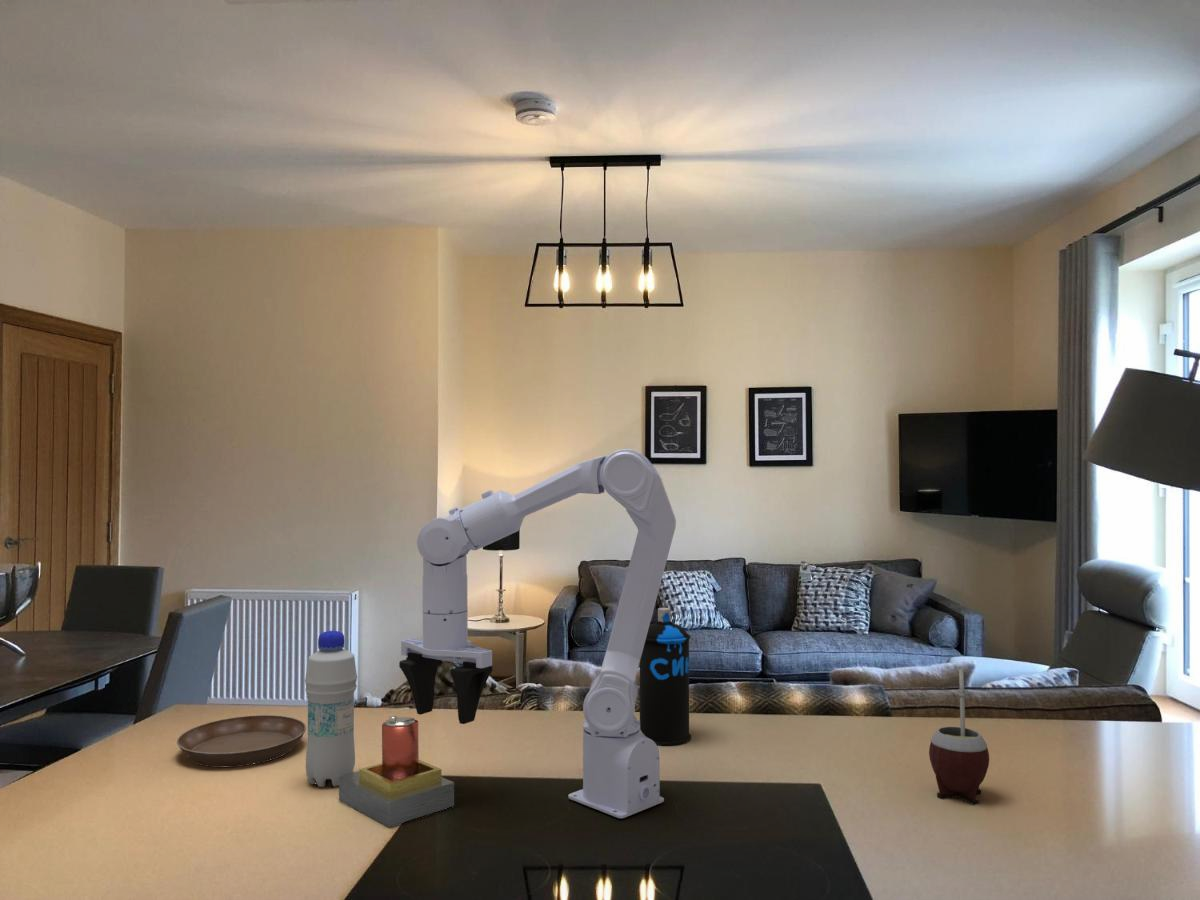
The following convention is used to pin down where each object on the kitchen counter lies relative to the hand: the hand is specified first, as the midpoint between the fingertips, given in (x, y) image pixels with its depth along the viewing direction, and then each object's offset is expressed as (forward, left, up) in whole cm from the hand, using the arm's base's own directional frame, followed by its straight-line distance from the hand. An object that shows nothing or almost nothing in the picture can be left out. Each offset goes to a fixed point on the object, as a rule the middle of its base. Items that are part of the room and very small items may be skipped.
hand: (445, 717), depth 111 cm
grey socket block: (+2, +6, -10) cm, 12 cm away
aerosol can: (-4, -38, -10) cm, 39 cm away
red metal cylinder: (+1, +6, -7) cm, 9 cm away
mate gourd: (-46, -47, -10) cm, 67 cm away
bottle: (+15, +8, -10) cm, 19 cm away
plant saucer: (+36, +11, -10) cm, 39 cm away
